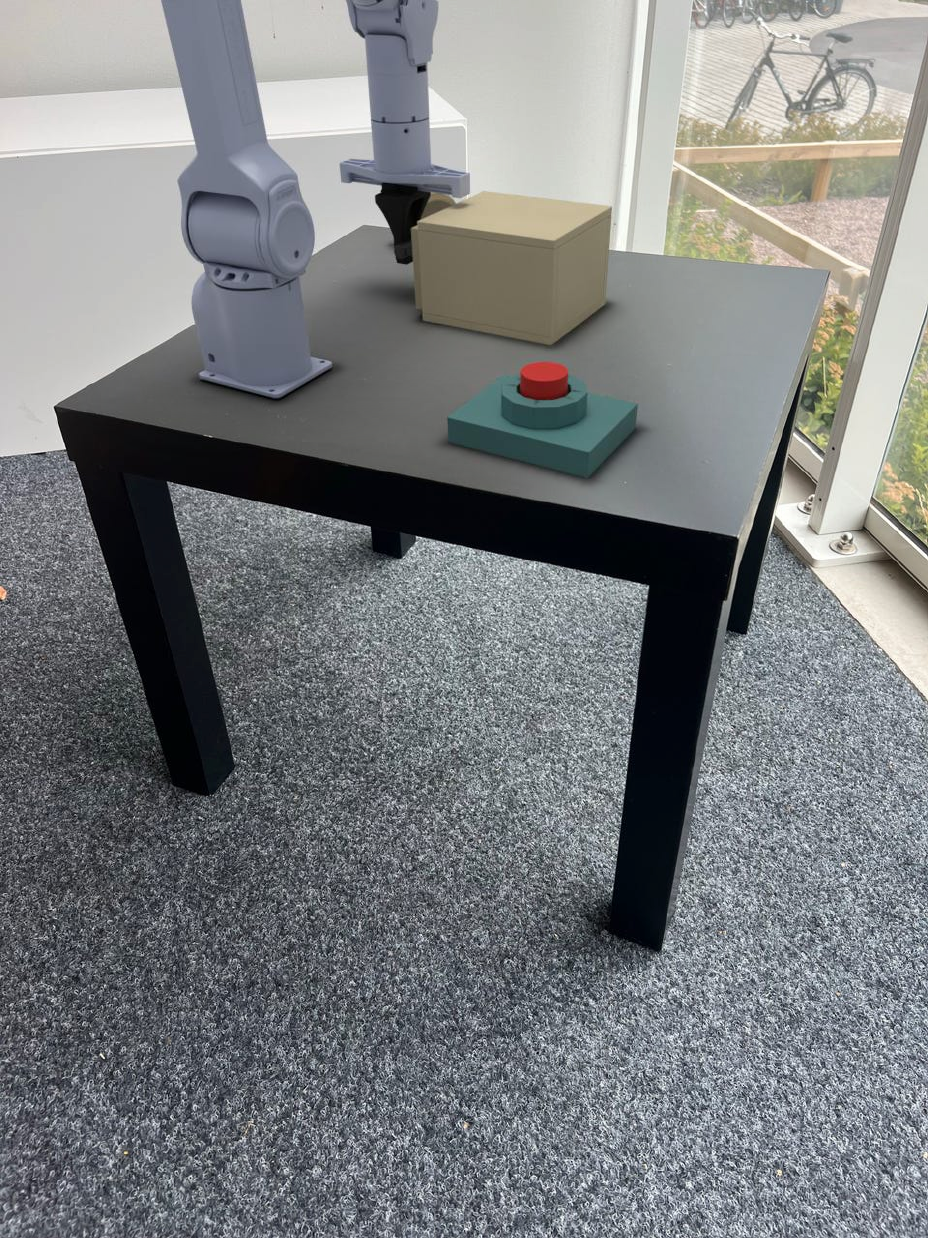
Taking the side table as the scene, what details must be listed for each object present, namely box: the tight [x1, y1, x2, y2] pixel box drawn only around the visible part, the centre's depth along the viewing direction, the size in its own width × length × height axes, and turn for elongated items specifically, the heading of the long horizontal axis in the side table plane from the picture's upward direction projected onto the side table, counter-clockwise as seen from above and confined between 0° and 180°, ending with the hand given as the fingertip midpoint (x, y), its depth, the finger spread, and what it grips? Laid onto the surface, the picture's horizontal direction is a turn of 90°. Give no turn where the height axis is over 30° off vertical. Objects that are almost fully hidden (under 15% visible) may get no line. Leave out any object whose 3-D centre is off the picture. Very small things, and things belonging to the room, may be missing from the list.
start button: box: [519, 361, 569, 400], centre depth 67 cm, size 4×4×2 cm
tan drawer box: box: [417, 190, 613, 346], centre depth 88 cm, size 15×13×10 cm
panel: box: [446, 373, 639, 479], centre depth 69 cm, size 12×9×4 cm
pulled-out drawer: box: [393, 225, 422, 310], centre depth 90 cm, size 18×11×8 cm, turn 59°
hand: (408, 261), depth 95 cm, fingers closed, pressing on pulled-out drawer
